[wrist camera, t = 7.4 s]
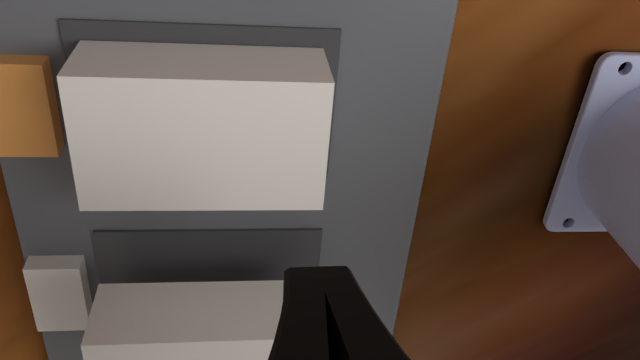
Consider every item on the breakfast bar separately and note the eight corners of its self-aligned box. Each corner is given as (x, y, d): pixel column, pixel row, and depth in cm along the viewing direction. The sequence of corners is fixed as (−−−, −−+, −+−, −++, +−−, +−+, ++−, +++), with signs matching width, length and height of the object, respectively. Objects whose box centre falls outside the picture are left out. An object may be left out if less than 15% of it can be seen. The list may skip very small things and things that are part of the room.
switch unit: (454, -46, 20) (474, -31, 18) (363, 441, 33) (370, 475, 32) (-39, -73, 18) (-68, -59, 16) (83, 457, 31) (74, 494, 30)
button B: (313, 279, 22) (321, 337, 19) (305, 361, 24) (312, 423, 22) (98, 283, 21) (80, 345, 18) (112, 369, 23) (98, 434, 21)
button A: (323, 47, 19) (334, 83, 17) (314, 165, 22) (322, 210, 19) (80, 40, 18) (56, 76, 16) (97, 163, 21) (79, 211, 18)
